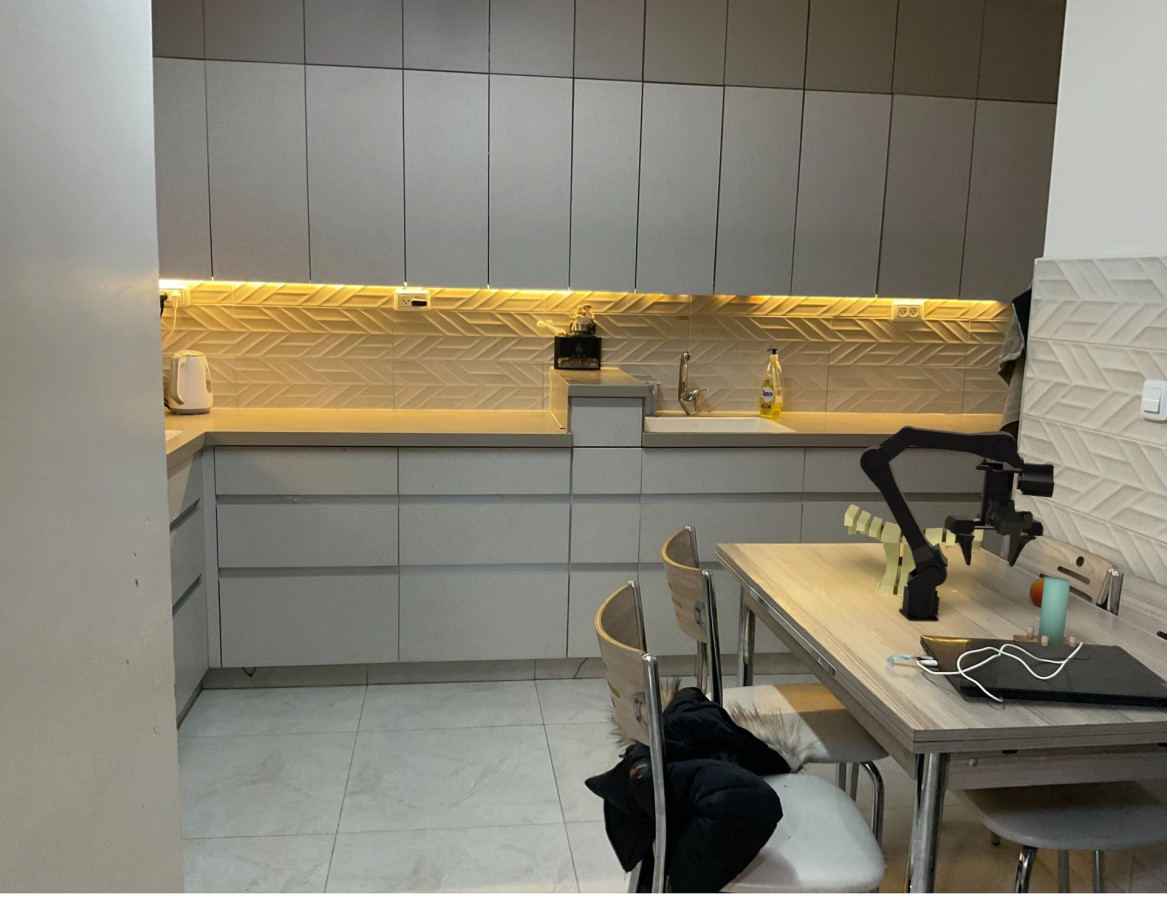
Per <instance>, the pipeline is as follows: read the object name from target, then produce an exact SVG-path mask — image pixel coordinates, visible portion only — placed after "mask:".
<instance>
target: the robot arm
mask: <svg viewBox="0 0 1167 900" xmlns="http://www.w3.org/2000/svg"><path fill="white" fill-rule="evenodd" d="M912 446H913V447H921V448H922V447H923V448H930V449H937V450H944V451H945V450H946V451H947V450H948V451H957V452H965V453H970V454H973V455H976V456H979V457H981V458H982V459H981V460H980V461H979V462H977V463H975V466H974V467H975V470H977V471H983V482H982V491H981V494H978V500H980V508H979V509H980V511H979V513H977V514H976V519H979V521H977V520H975V519H971V518H970V517H968V516H966V515H953V514H951V515H950V514H949V515H948V516H947V517H946V518H945V519H944V523H943V524H944V527H943V529H946V530H947V529H948V530H949V531H950V532H951V533H953V534H955V536H956V538H957V540H958V542H959V544H960V546H959V548H960V550H961V553H962V556H963V559H964V563H965V564H966V566H969V567H971V563H972V551H973V548H972V541H973V540H974V538H975V536H974V535H972V532H973V531H974V530H975V529H977V530H983V531H985V530H986V531H995V532H996V533H997V534H998V535H1000V536H1005V537H1006V536H1009V546H1008V566H1009V567H1011V568H1014V565H1015V564H1016V562H1017V560H1018V558H1019V557H1020V554H1021V553H1022V551H1023V549H1024V548H1025V546H1026V545H1027V544H1028V543H1030V542H1032V541H1035V540H1036V539H1037V537H1043V536H1044V531H1045V529H1044V528H1045V527H1044V525H1043V523H1042V522H1041V521H1039V520H1037V519H1035V518H1034V514H1033V513H1032V512H1031V511H1030V510H1021V511H1019V510H1018V511H1017V510H1016V508H1015V507H1016V503H1015V502H1016V501H1015V500H1014V499H1012V498H1013V489H1014V479H1015V474H1016V485H1015V488H1016V491H1018V490H1020V492H1021V493H1020V494H1021V496H1027V497H1028V496H1032V497H1039V498H1040V497H1041V498H1051V499H1052V498H1053V494H1054V490H1055V478H1054V476H1055V474H1054V471H1055V469H1054V468H1055V465H1054V464H1053V463H1032V462H1025V460H1024V459H1025V458H1024V457H1022V456H1020V454H1019V453H1018V450H1019V448H1018V447H1019V445H1018V443H1017V440H1016V438H1014V436H1013V435H1012V434H1011V433H1010V432H1008V431H1004V430H1003V431H1002V430H996V431H983V432H982V431H981V432H975V433H974V432H972V433H969V432H960V431H959V432H958V431H950V430H943V429H933V428H924V427H923V428H922V427H915V426H913V425H904V426H902V427H901V428H899V430H898V431H897V432H896V433H894V434H893V435H891V436H889V438H886V439H885V440H884V441H882V443H880V444H879V445H878V444H877V445H871V446H869V447H866V449H865V450H864V451H863V452H862V454H861V457H860V458H859V459H860V460H859V465H860V468H861V470H862V471H863V473H865V475H866V476H867V477H868V479H869V480H870V481H871V482H872V483H873V485H874V486H875V487H876V488H877V489H878V490H879V491H880V494H882V496H883V498H884V500H885V502H886V504H887V506H888V508H889V510H890V511H891V513H892V516H893V517H894V520H895V522H896V524H897V525H899V527H900V529H901V531H902V533H903V535H904V537H905V539H906V541H907V543H908V545H909V546H910V548H911V552H912V556H913V559H914V563H915V567H916V568H915V569H913V570H912V571H911V572H909V573H908V579H907V586H904V594H903V596H902V607H901V608H899V609H898V612H899V613H900V614H901V615H902V616H904V618H906V619H908V620H909V621H923V622H924V621H928V622H938V620H939V617H938V615H939V607H940V597H939V596H938V595H939V591H938V589H937V590H936V587H937V588H938V587H940V586H941V585H943V584H944V583H945V582H946V580H947V577H948V569H947V568H948V565H949V564H948V562H949V561H948V557H947V556H946V555H945V554H944V553H943V551H942V546H941V547H940V544H939V543H938V544H936V545H934V546H933V545H932V544H931V543H930V542H929V541H928V540H927V538H926V536H925V535H924V533H923V531H922V530H923V528H922V527H921V525H920V523H919V522H918V520H917V517H916V516H915V514H914V512H913V509H911V506H910V505H909V502H908V501H907V498H906V497H905V495H904V493H903V490H902V489H901V487H900V485H899V483H898V481H897V478H896V473H895V470H894V466H893V463H892V460H894V459H895V458H897V456H899V455H900V454H901V453H903V452H904V451H905V450H906V449H908V448H909V447H912ZM987 459H989V460H991V461H988V460H987ZM992 461H994V462H992ZM1004 463H1007V464H1008V465H1009V466H1011V467H1005V466H1004ZM921 528H922V529H921Z"/></svg>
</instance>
